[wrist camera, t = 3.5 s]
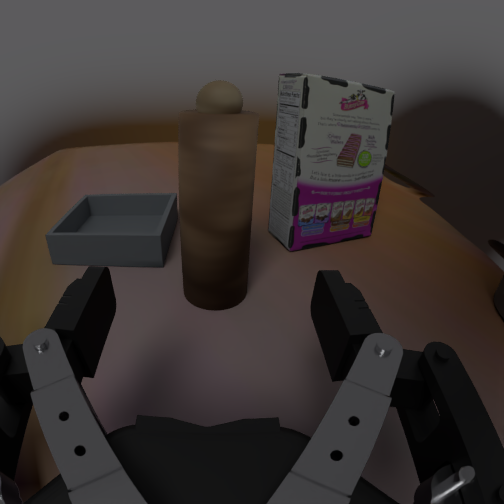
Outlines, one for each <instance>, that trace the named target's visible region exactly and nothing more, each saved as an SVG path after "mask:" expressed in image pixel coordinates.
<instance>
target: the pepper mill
mask: <svg viewBox="0 0 504 504" xmlns="http://www.w3.org/2000/svg"><path fill="white" fill-rule="evenodd" d="M242 106H243V98H242V95H241V92H240V91H239V89H238V88H237V87H236V86H235V85H233V84H232V83H229V82H227V81H221V80H220V81H213V82H210V83H208V84H207V85H205V86H204V87H203V88H202V89H201V90H200V91H199V93H198V96H197V99H196V108H197V110H186V111H181V112H179V210H180V236H181V256H182V273H183V288H184V295H185V297H186V299H187V300H188V301H189V302H190V303H191V304H193V305H194V306H197V307H199V308H202V309H206V310H224V309H229V308H232V307H234V306H236V305H238V304H239V303H241V302H242V301H243V300H244V298H245V296H246V293H247V279H248V264H249V250H250V235H251V221H252V206H253V192H254V178H255V164H256V150H257V136H258V122H259V114H258V113H255V112H250V111H241V110H242Z"/></svg>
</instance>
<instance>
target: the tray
mask: <svg viewBox="0 0 504 504" xmlns="http://www.w3.org/2000/svg"><path fill="white" fill-rule="evenodd" d="M177 219H178V214H177V193H146V194H100V195H85V196H84V197H83V198H82V199H81V200H79V201H78V202H77V203H76V204H75V205H74V206H73V207H72V208H71V209H70V210H69V211H68V212H67V213H66V214H65V215H64V216H63V217H62V218H61V219H60V220H59V221H58V222H57V223H56V225H55V226H54V227H53V228H52V229H51V230H50V231H49V232H48V233H47V234H46V235H45V236H46V240H47V244H48V248H49V252H50V256H51V259H52V263H53V264H67V265H96V266H131V267H163V266H164V262H165V259H166V255H167V252H168V249H169V245H170V242H171V239H172V235H173V232H174V229H175V226H176V222H177Z"/></svg>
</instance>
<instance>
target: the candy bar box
mask: <svg viewBox="0 0 504 504" xmlns="http://www.w3.org/2000/svg"><path fill="white" fill-rule="evenodd" d="M394 94H395V92H393V91H391V90H388V89H384V88H379V87H375V86H371V85H366V84H361V83H357V82H352V81H347V80H342V79H337V78H330V77H325V76H319V75H312V74H300V73H288V74H279V86H278V101H277V103H278V104H277V117H276V132H275V149H274V161H273V176H272V188H271V201H270V214H269V228H268V231H269V232H270V233H271V234H272V236H273V237H275V238H276V239H277V240H278V241H279V242H281V243H282V244H283V245H284V247H286V248H287V249H288V250H289V251H297V250H302V249H307V248H312V247H317V246H322V245H327V244H332V243H337V242H342V241H347V240H351V239H356V238H361V237H366V236H370V235H371V233H372V228H373V223H374V219H375V214H376V210H377V204H378V199H379V194H380V189H381V183H382V179H383V172H384V166H385V160H386V155H387V148H388V142H389V135H390V128H391V119H392V112H393V103H394Z"/></svg>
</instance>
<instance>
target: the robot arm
mask: <svg viewBox="0 0 504 504" xmlns="http://www.w3.org/2000/svg"><path fill="white" fill-rule="evenodd" d="M494 302H495V306H496V308H497V310H498V312H499V313H500V315H501V316H502V317H503V319H504V275H503V277H502V279H501V281H500V283H499V286H498V288H497V290H496V292H495V294H494ZM115 312H116V298H115V294H114V289H113V285H112V280H111V275H110V271H109V268H108V267H95V266H90V267H88V268H87V270H86V272H85V273H84V275H83V277H82V279H76V280H75V281H74V282H73V283H71V284H70V285H69V286H68V287H67V289H66V291H65V292H64V294H63V297H61V299H60V301H59V304H57V306H56V308H55V310H54V311H53V313H52V315H51V317H50V319H49V321H48V322H47V324H46V326H45V328H43V329H38V330H36V331H34V332H32V333H31V334H29V335H28V336H27V337H26V339H25V340H24V343H23V344H19V345H12V346H6V345H5V343H4V341H3V340H2V338H1V337H0V504H22V499H21V498H20V495H19V490H18V487H17V485H16V483H15V482H14V479H15V473H16V468H17V464H18V459H19V455H20V450H21V446H22V442H23V438H24V434H25V430H26V426H27V423H28V419H29V416H30V412H31V409H32V406H33V404H34V408H35V411H36V414H37V416H38V419H39V422H40V425H41V428H42V430H43V433H44V436H45V438H46V441H47V443H48V446H49V448H50V451H51V453H52V455H53V458H54V460H55V462H56V465H57V467H58V469H59V471H60V474H59V475H58V476H57V477H55V478H54V479H53V480H52V481H51V482H49V483H48V484H47V485H46V486H44V487H43V488H42V489H41V490H39V491H38V492H37V493H36V494H34V495H33V496H32V497H31V498H29V499H28V500H27V501H26V502H24V503H23V504H399V503H398V502H396V501H395V500H393V499H392V498H390V497H389V496H387V495H386V494H385V493H383V492H382V491H380V490H379V489H378V488H376V487H375V486H373V485H372V484H371V483H369V482H368V481H367V480H365V479H364V478H362V477H361V473H362V471H363V469H364V467H365V465H366V463H367V460H368V458H369V456H370V454H371V451H372V449H373V447H374V444H375V442H376V440H377V437H378V435H379V432H380V430H381V427H382V425H383V422H384V419H385V417H386V414H387V411H388V408H389V406H390V407H396V409H397V411H398V414H399V417H400V420H401V423H402V426H403V429H404V432H405V435H406V438H407V442H408V445H409V448H410V451H411V454H412V458H413V461H414V464H415V467H416V471H417V474H418V478H419V481H420V485H419V486H418V487H417V489H416V491H415V494H414V503H413V504H504V448H503V446H502V444H501V441H500V439H499V437H498V434H497V432H496V430H495V428H494V426H493V423H492V421H491V419H490V417H489V415H488V413H487V411H486V409H485V407H484V405H483V403H482V401H481V399H480V397H479V395H478V393H477V391H476V389H475V387H474V385H473V383H472V381H471V379H470V377H469V376H468V374H467V372H466V370H465V368H464V366H463V365H462V363H461V361H460V359H459V358H458V356H457V354H456V352H455V351H454V350H453V349H452V348H451V347H450V346H448V345H446V344H444V343H441V342H431V343H429V344H427V345H426V347H425V349H424V351H423V352H419V351H412V350H406V349H402V346H401V344H400V343H399V342H398V341H397V340H396V339H395V338H393V337H392V336H390V335H387V334H383V332H382V331H381V329H380V327H379V325H378V323H377V321H376V319H375V317H374V316H373V314H372V312H371V310H370V309H369V306H368V305H367V303H366V302H365V299H364V297H363V296H362V294H361V292H360V291H359V290H358V289H357V288H356V287H355V286H354V285H352V284H351V283H345V281H344V280H343V278H342V276H341V274H340V272H339V271H338V270H320V271H318V273H317V277H316V282H315V286H314V291H313V296H312V300H311V317H312V320H313V323H314V326H315V329H316V332H317V335H318V338H319V341H320V344H321V348H322V351H323V354H324V357H325V360H326V363H327V366H328V369H329V372H330V376H331V379H332V382H334V381H343V383H342V385H341V387H340V389H339V391H338V393H337V395H336V396H335V398H334V400H333V402H332V404H331V405H330V407H329V409H328V411H327V413H326V414H325V416H324V418H323V420H322V421H321V423H320V425H319V426H318V428H317V430H316V432H315V433H314V435H313V436H312V438H310V437H309V436H307V435H305V434H303V433H301V432H298V431H296V430H293V429H289V428H285V427H280V424H279V418H278V417H277V418H258V419H242V420H237V421H233V422H229V423H225V424H220V425H215V426H211V427H204V426H200V425H196V424H192V423H188V422H184V421H181V420H177V419H173V418H166V417H153V416H142V415H137V419H136V425H130V426H126V427H122V428H120V429H117V430H115V431H113V432H111V433H109V434H107V432H106V431H105V429H104V427H103V425H102V424H101V422H100V420H99V418H98V416H97V415H96V413H95V411H94V409H93V407H92V405H91V403H90V401H89V399H88V397H87V395H86V393H85V391H84V389H83V387H82V385H81V382H82V379H83V377H90V378H94V375H95V372H96V369H97V366H98V363H99V360H100V356H101V353H102V350H103V347H104V344H105V341H106V339H107V336H108V333H109V330H110V327H111V324H112V322H113V319H114V316H115ZM433 399H434V401H435V404H436V406H437V408H438V411H439V413H438V411H437V409H436V406H435V404H434V401H433ZM439 414H440V416H439Z"/></svg>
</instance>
